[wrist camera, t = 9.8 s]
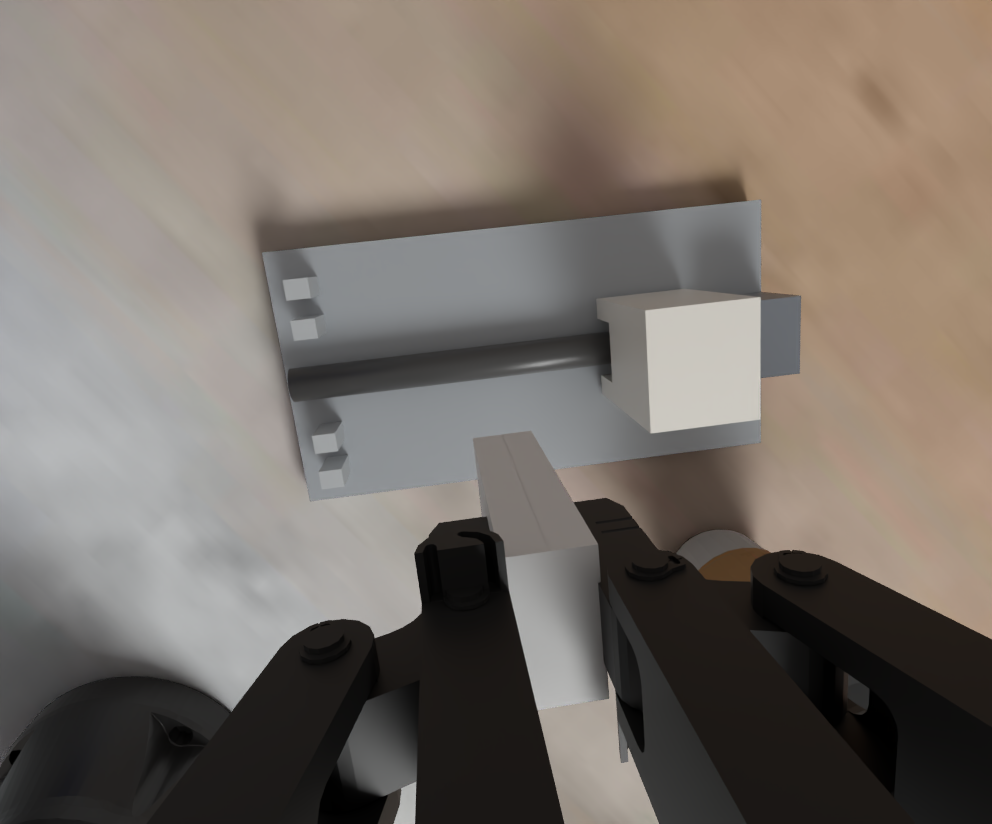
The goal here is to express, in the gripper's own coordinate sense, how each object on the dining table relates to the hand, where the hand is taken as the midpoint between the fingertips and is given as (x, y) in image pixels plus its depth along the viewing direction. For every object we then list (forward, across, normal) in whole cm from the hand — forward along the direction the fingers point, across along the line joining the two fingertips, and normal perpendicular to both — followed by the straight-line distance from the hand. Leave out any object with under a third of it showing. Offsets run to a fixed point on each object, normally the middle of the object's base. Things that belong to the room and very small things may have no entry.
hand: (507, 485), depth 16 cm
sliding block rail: (+21, +4, 0) cm, 21 cm away
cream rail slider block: (+19, +10, 0) cm, 21 cm away
